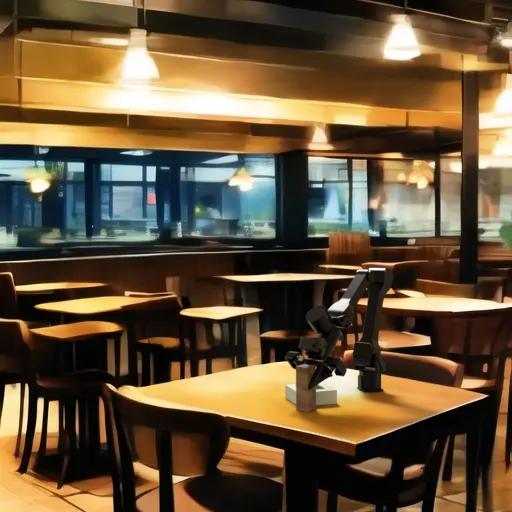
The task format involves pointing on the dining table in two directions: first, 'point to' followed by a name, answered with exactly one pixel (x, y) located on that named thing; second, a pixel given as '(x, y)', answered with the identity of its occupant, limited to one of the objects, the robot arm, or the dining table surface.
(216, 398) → the dining table surface
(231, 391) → the dining table surface
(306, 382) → the walnut block
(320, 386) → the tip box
